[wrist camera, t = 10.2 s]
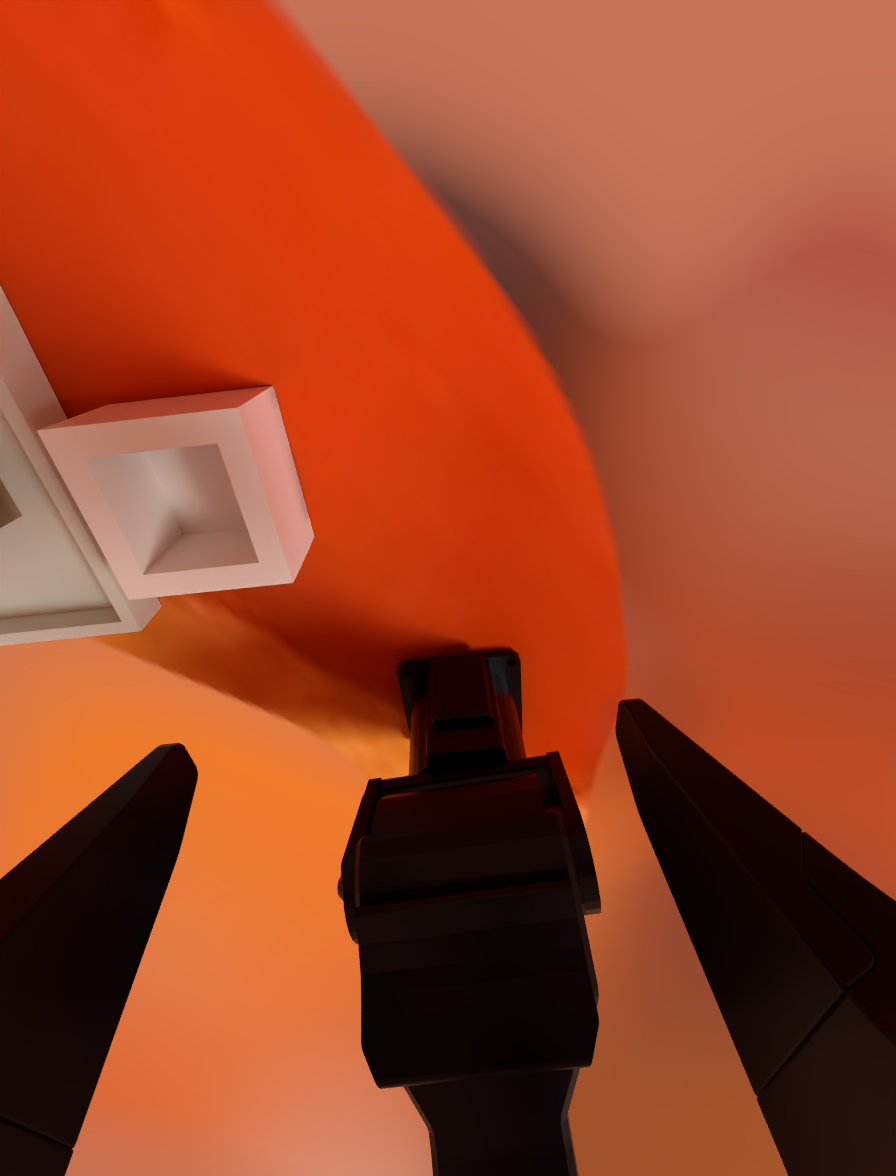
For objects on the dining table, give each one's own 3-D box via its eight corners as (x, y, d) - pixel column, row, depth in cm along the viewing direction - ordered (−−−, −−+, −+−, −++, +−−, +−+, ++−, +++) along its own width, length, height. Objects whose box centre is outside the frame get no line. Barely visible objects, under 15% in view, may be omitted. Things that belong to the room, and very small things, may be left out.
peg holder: (314, 536, 22) (293, 582, 18) (175, 551, 22) (128, 599, 18) (273, 385, 18) (237, 407, 15) (108, 404, 18) (36, 430, 15)
